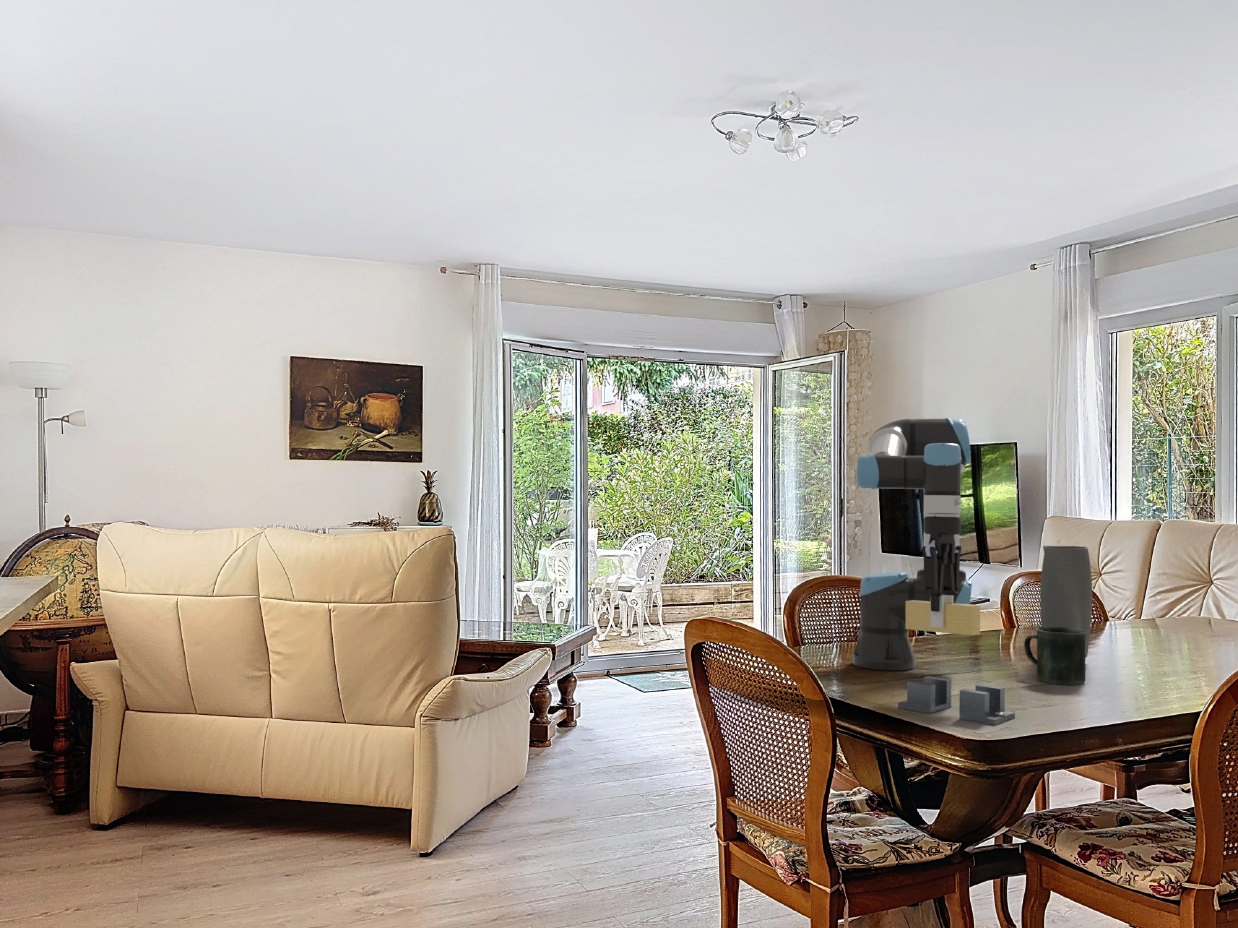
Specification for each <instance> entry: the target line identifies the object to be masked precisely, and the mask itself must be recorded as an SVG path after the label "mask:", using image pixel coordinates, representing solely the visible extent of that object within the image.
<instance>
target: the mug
mask: <svg viewBox="0 0 1238 928" xmlns="http://www.w3.org/2000/svg"><path fill="white" fill-rule="evenodd" d="M1034 630H1035V632H1036V634H1033V635H1027V636H1026V638H1025V639H1024V642H1023V643H1024V644H1023V645H1024V646H1023V647H1024V652H1025V655H1026V657H1027V659H1028V660H1029V662H1031V663H1032V664H1034V665H1035V666H1036V678H1037V679H1038V680H1039V681H1040V682H1044V683H1047V684H1048V683H1049V684H1054V685H1065V686H1079V685H1083V684H1085V682H1086V658H1085V635H1086V634H1087V632H1086V631H1084V630H1081V629H1074V628H1065V627H1041V626H1038V627H1035V628H1034ZM1032 639H1033V640H1035V639H1036V658H1035V656H1034V655H1033V653H1032V650H1031V641H1032Z"/></svg>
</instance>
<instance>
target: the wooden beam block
mask: <svg viewBox="0 0 1238 928" xmlns="http://www.w3.org/2000/svg"><path fill="white" fill-rule="evenodd" d="M906 629H908V630H912V631H920V632H921V631H922V632H923V631H924V632H934V633H943V634H954V635H961V636H962V635H963V636H964V635H965V636H978V635H981V604H971V603H970V604H958V603H944V628H938V627H930V601H918V600H911V601H906Z"/></svg>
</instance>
